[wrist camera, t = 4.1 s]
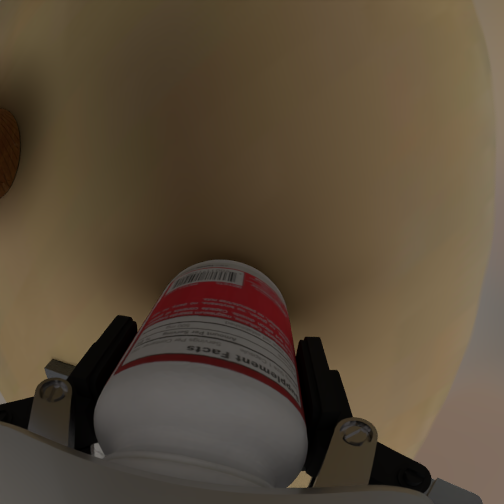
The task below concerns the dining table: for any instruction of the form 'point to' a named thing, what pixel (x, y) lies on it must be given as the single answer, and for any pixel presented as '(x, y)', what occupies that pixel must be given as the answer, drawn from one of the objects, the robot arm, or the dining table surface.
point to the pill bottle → (209, 384)
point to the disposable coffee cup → (8, 150)
